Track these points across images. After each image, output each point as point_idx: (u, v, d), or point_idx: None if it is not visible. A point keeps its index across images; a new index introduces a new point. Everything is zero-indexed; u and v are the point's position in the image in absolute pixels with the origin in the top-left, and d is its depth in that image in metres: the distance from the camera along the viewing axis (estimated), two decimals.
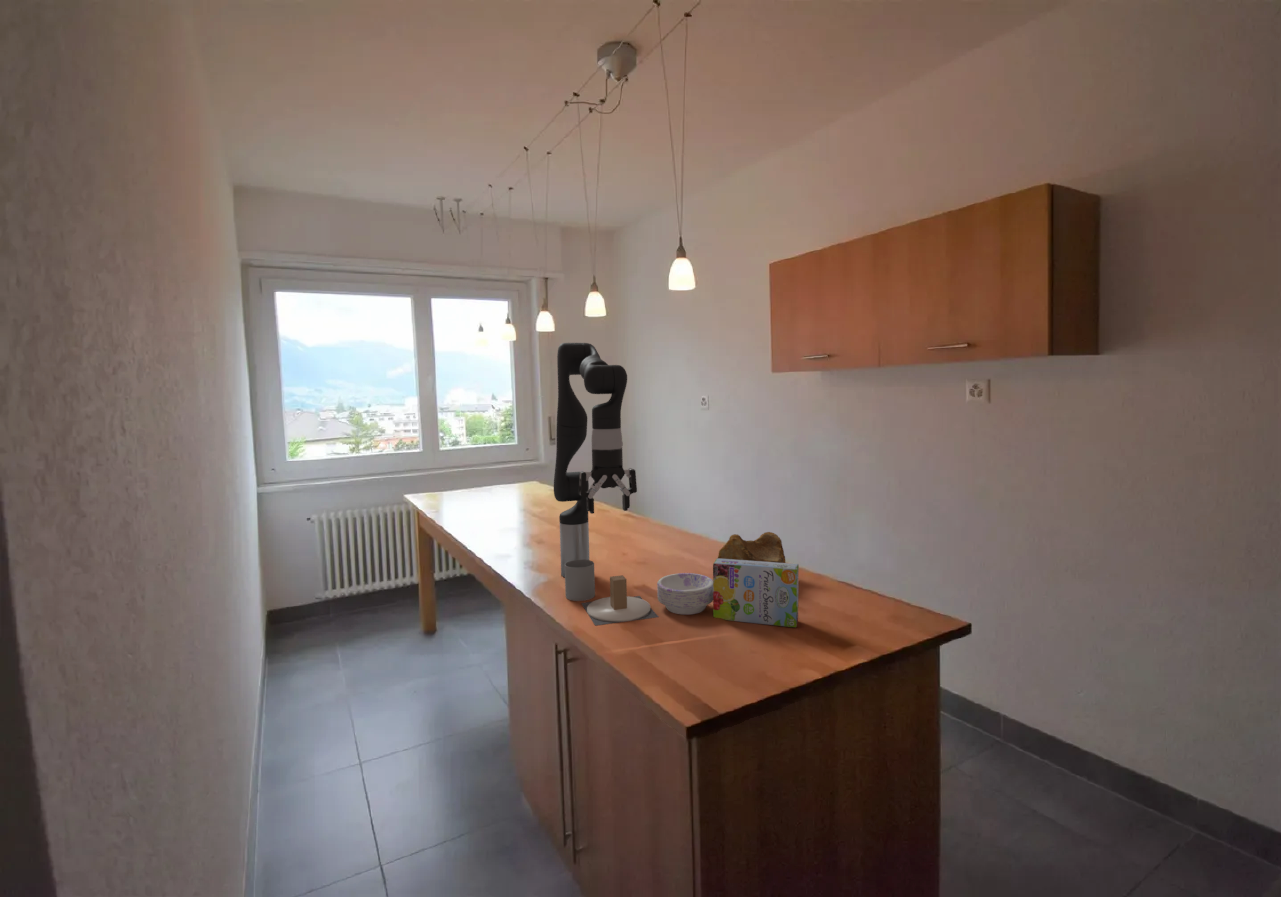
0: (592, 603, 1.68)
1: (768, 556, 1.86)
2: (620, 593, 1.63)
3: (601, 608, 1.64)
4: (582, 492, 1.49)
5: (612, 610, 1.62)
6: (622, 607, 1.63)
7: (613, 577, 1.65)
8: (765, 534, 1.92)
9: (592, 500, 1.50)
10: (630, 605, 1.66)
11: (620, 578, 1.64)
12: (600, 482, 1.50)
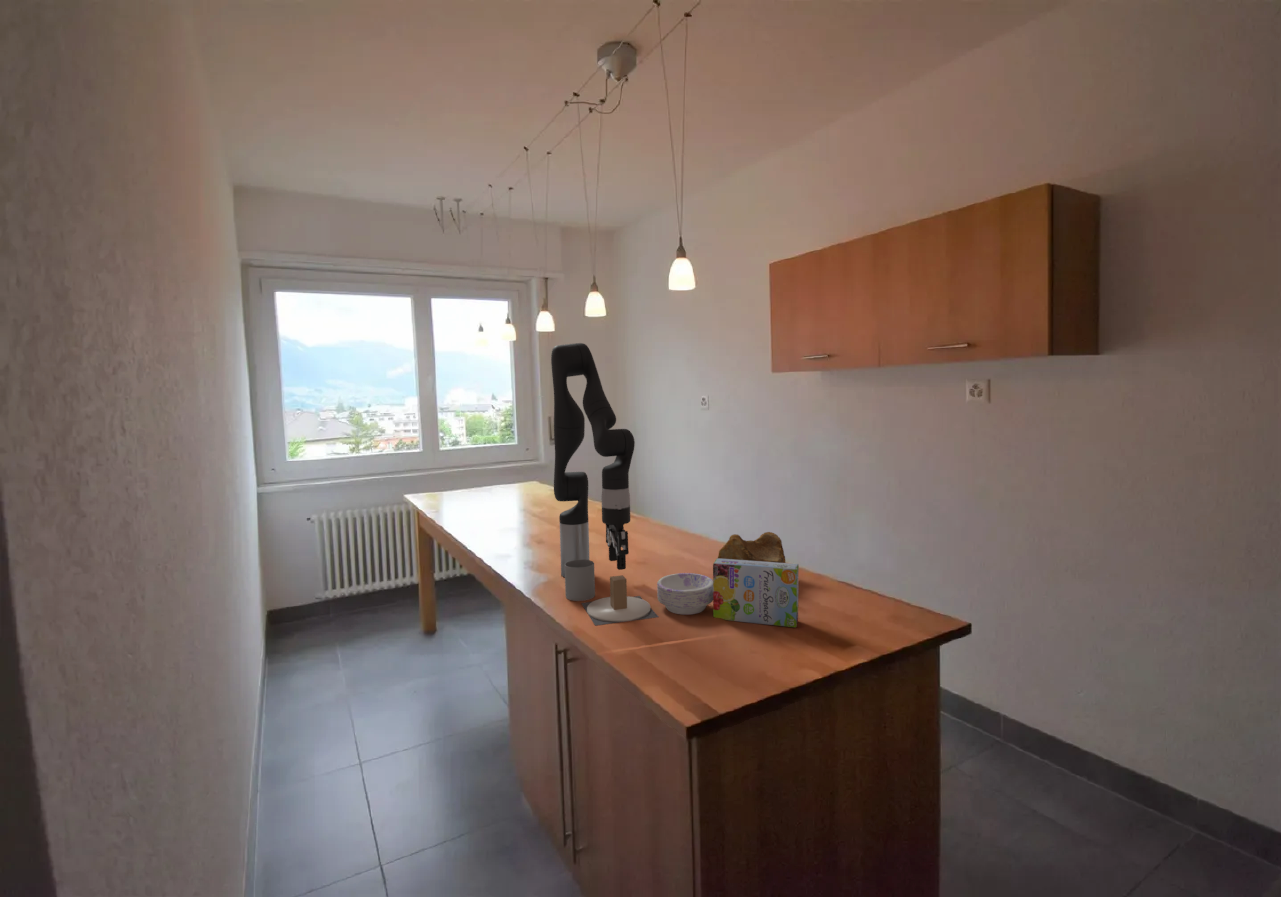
0: (592, 603, 1.68)
1: (768, 556, 1.86)
2: (620, 593, 1.63)
3: (601, 608, 1.64)
4: None
5: (612, 610, 1.62)
6: (622, 607, 1.63)
7: (613, 577, 1.65)
8: (765, 534, 1.92)
9: None
10: (630, 605, 1.66)
11: (621, 578, 1.64)
12: None
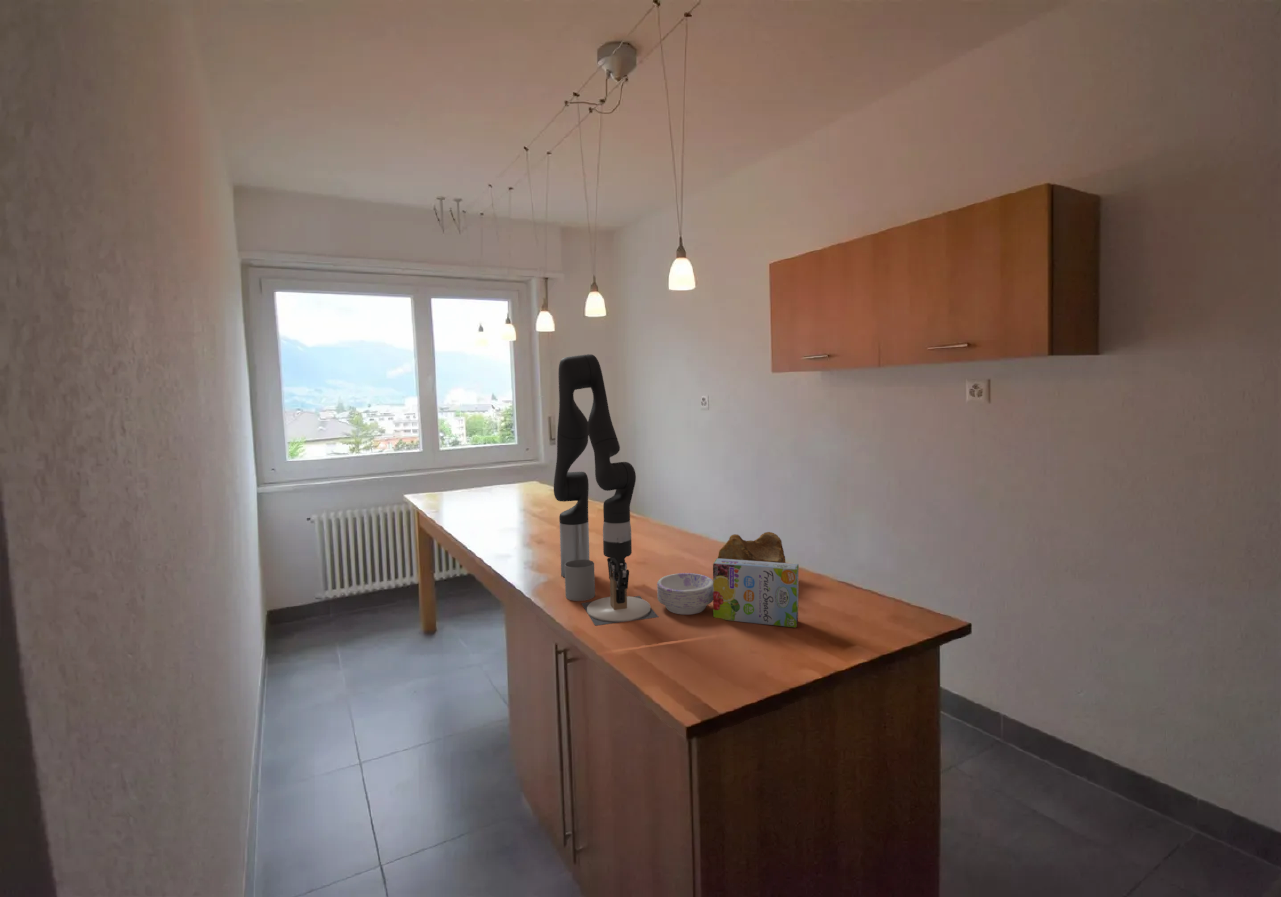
0: (592, 603, 1.68)
1: (768, 556, 1.86)
2: None
3: (601, 608, 1.64)
4: None
5: (612, 610, 1.62)
6: (622, 607, 1.63)
7: None
8: (765, 534, 1.92)
9: None
10: (630, 605, 1.66)
11: None
12: None
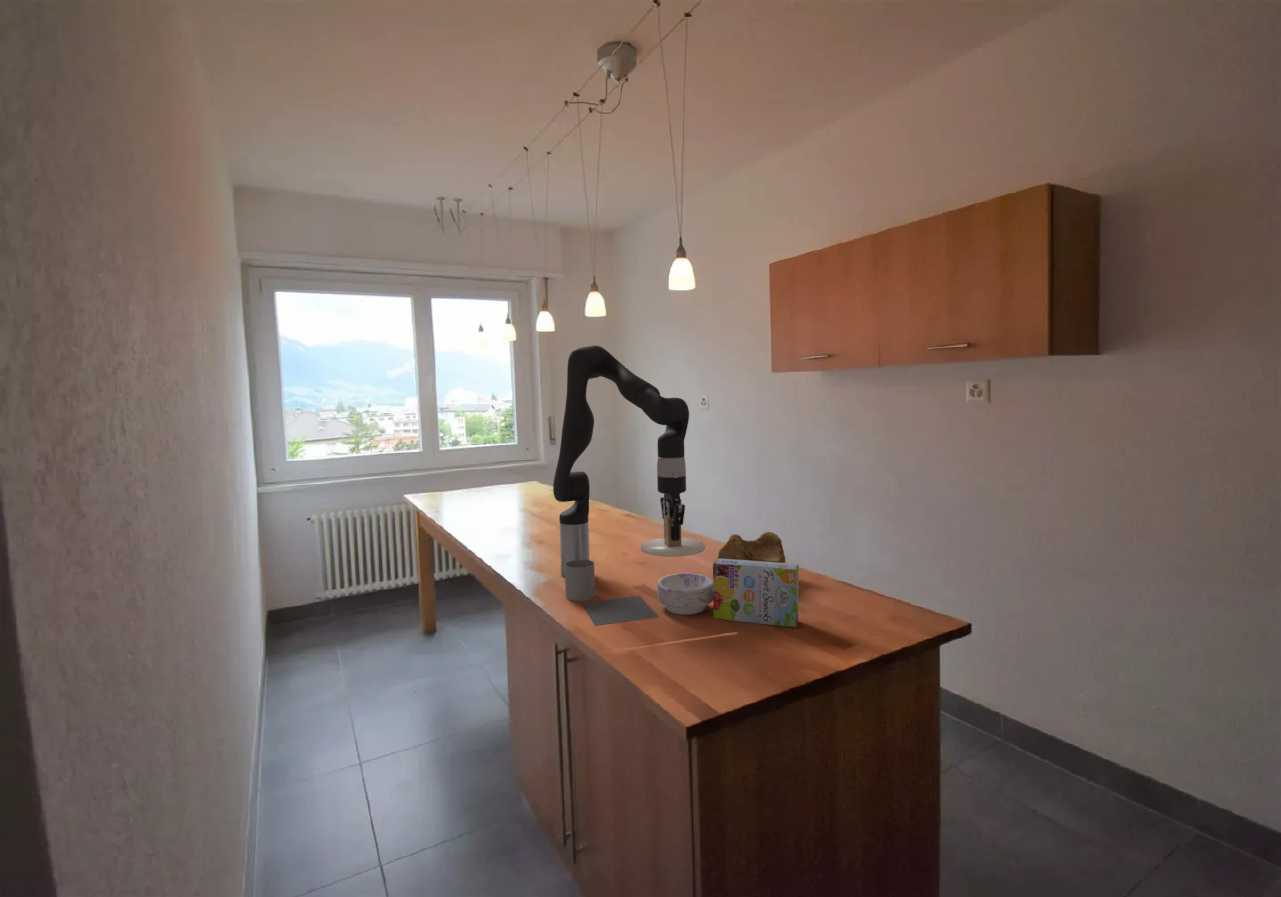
0: (645, 543, 1.66)
1: (768, 556, 1.86)
2: None
3: (655, 546, 1.62)
4: None
5: (667, 547, 1.60)
6: (676, 545, 1.61)
7: (667, 515, 1.63)
8: (765, 534, 1.92)
9: None
10: (684, 544, 1.64)
11: None
12: None
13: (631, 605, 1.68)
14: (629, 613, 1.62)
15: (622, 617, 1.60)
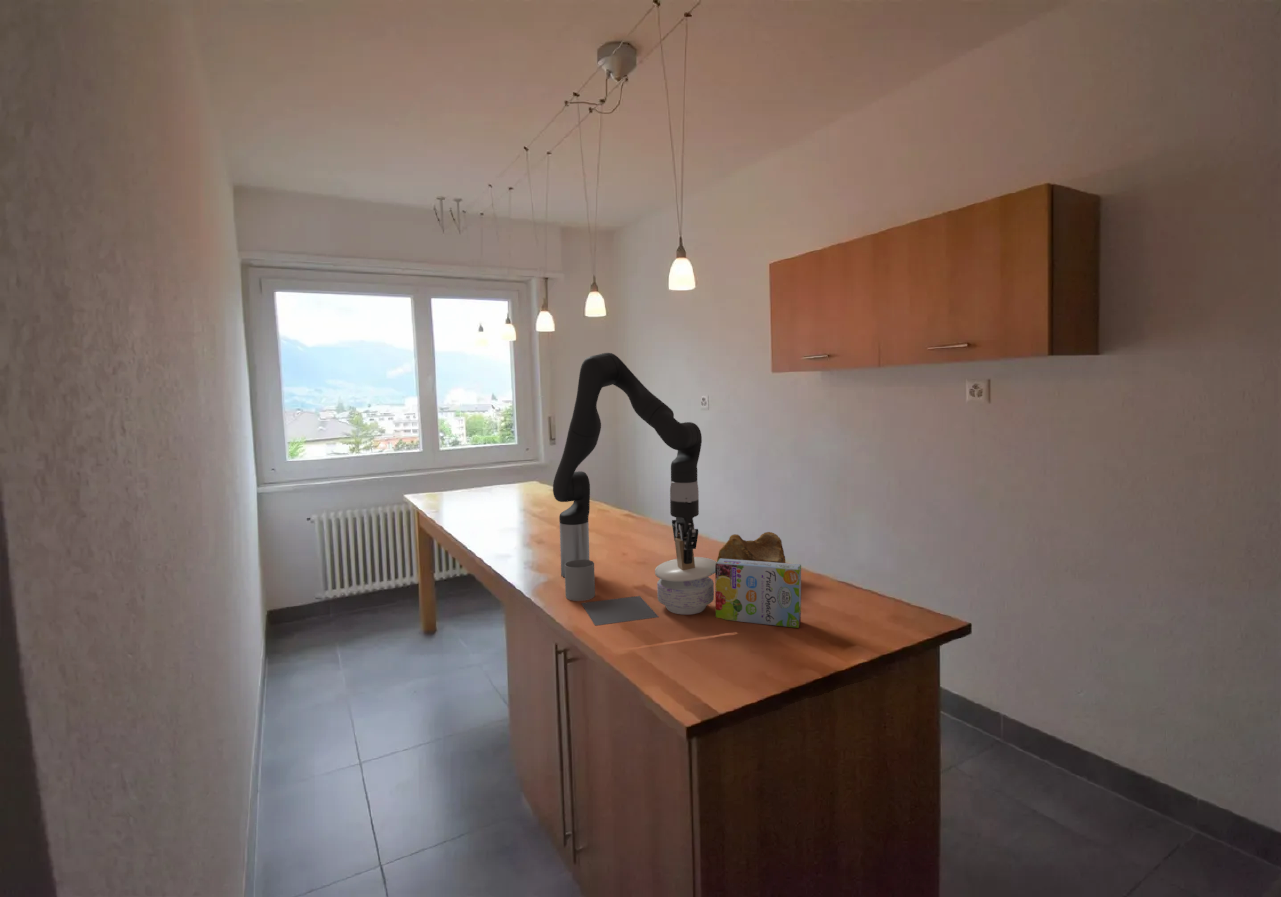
0: (659, 566, 1.68)
1: (768, 556, 1.86)
2: None
3: (669, 570, 1.64)
4: None
5: (681, 571, 1.62)
6: (690, 567, 1.63)
7: (678, 538, 1.64)
8: (765, 534, 1.92)
9: None
10: (697, 564, 1.66)
11: None
12: None
13: (631, 605, 1.68)
14: (629, 613, 1.62)
15: (622, 617, 1.60)
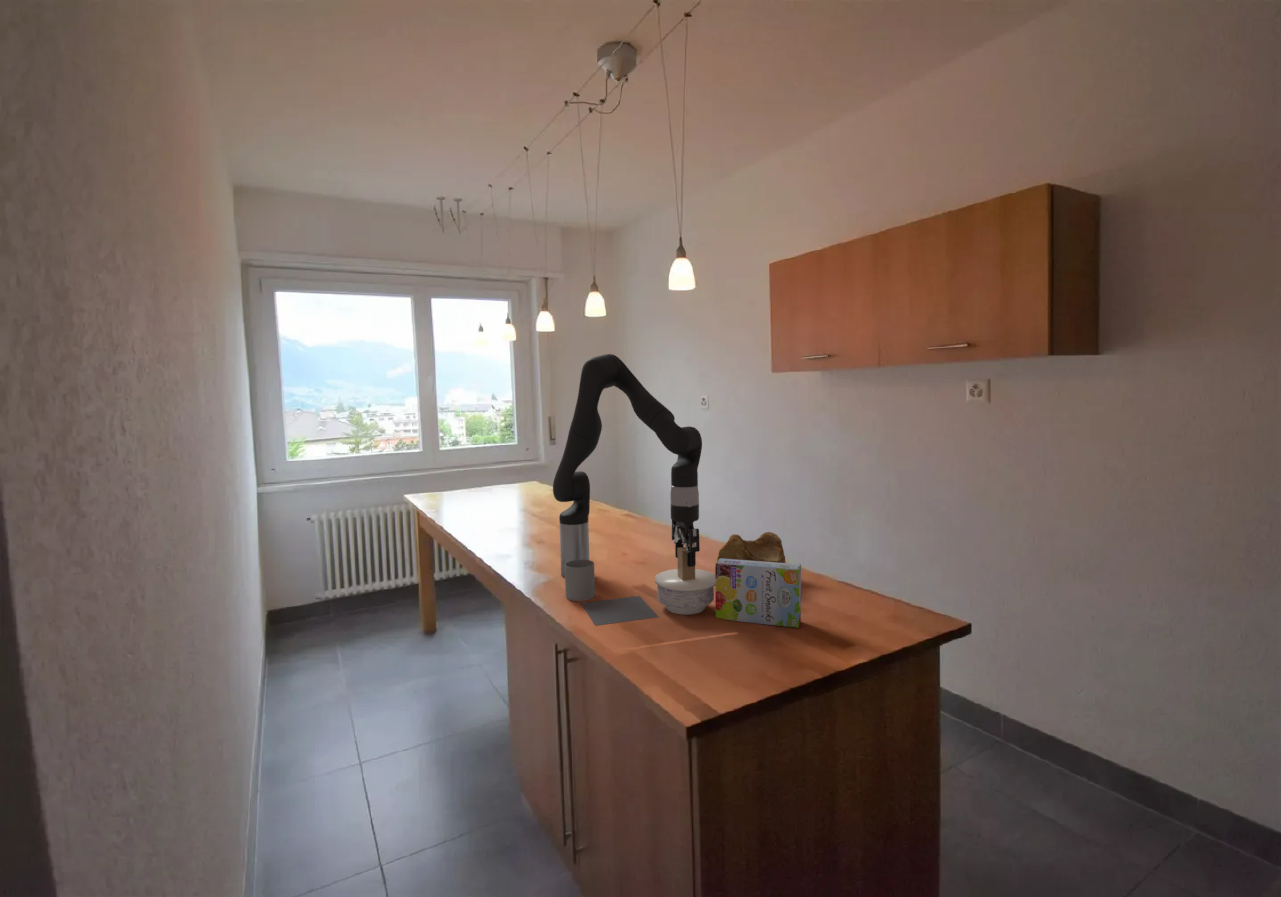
0: (658, 575, 1.68)
1: (768, 556, 1.86)
2: None
3: (669, 579, 1.64)
4: None
5: (681, 581, 1.63)
6: (690, 578, 1.64)
7: (681, 548, 1.65)
8: (765, 534, 1.92)
9: None
10: (697, 576, 1.66)
11: None
12: None
13: (631, 605, 1.68)
14: (629, 613, 1.62)
15: (622, 617, 1.60)
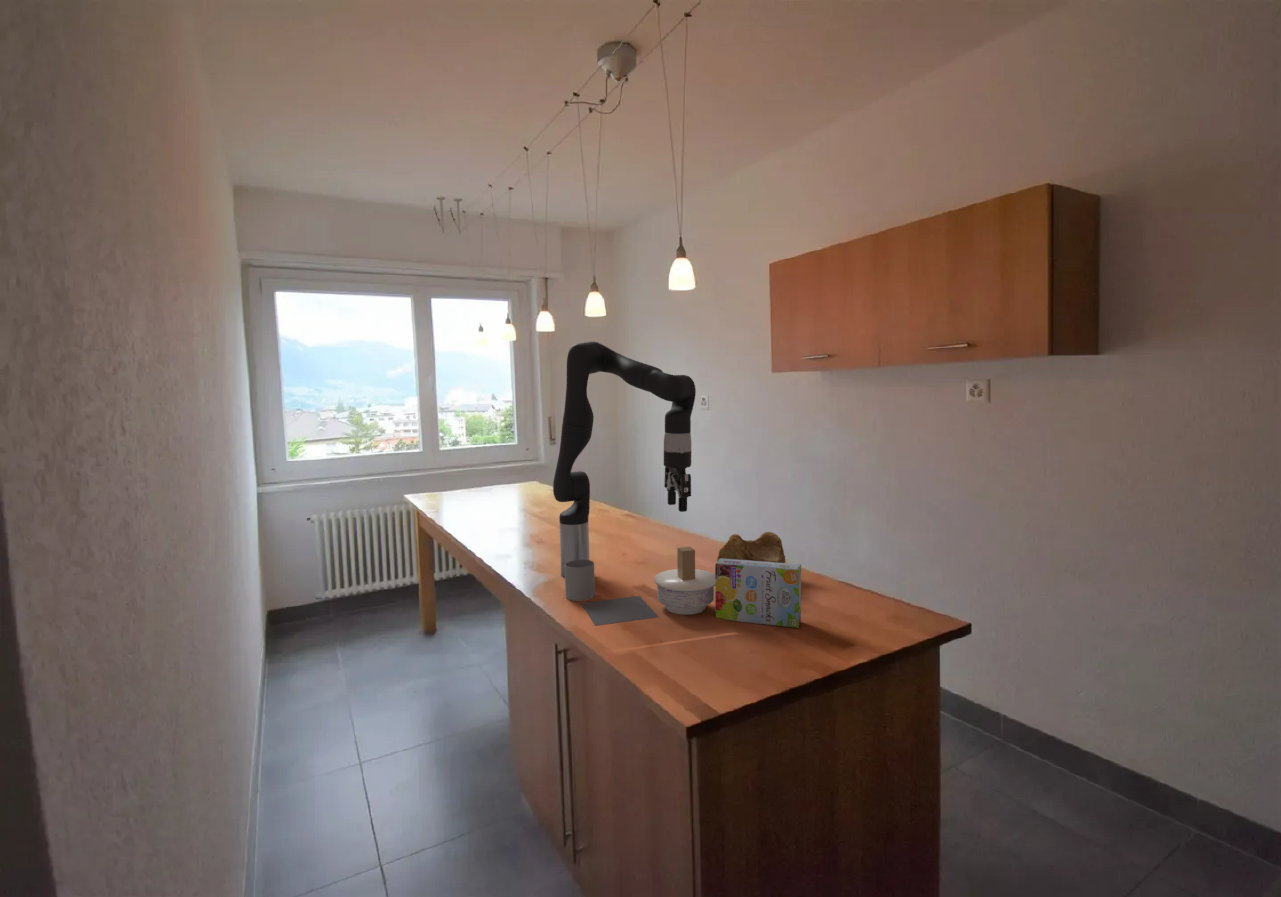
0: (658, 575, 1.68)
1: (768, 556, 1.86)
2: (689, 564, 1.63)
3: (669, 579, 1.64)
4: None
5: (681, 581, 1.63)
6: (690, 578, 1.64)
7: (681, 548, 1.65)
8: (765, 534, 1.92)
9: None
10: (697, 576, 1.66)
11: (689, 548, 1.64)
12: None
13: (631, 605, 1.68)
14: (629, 613, 1.62)
15: (622, 617, 1.60)
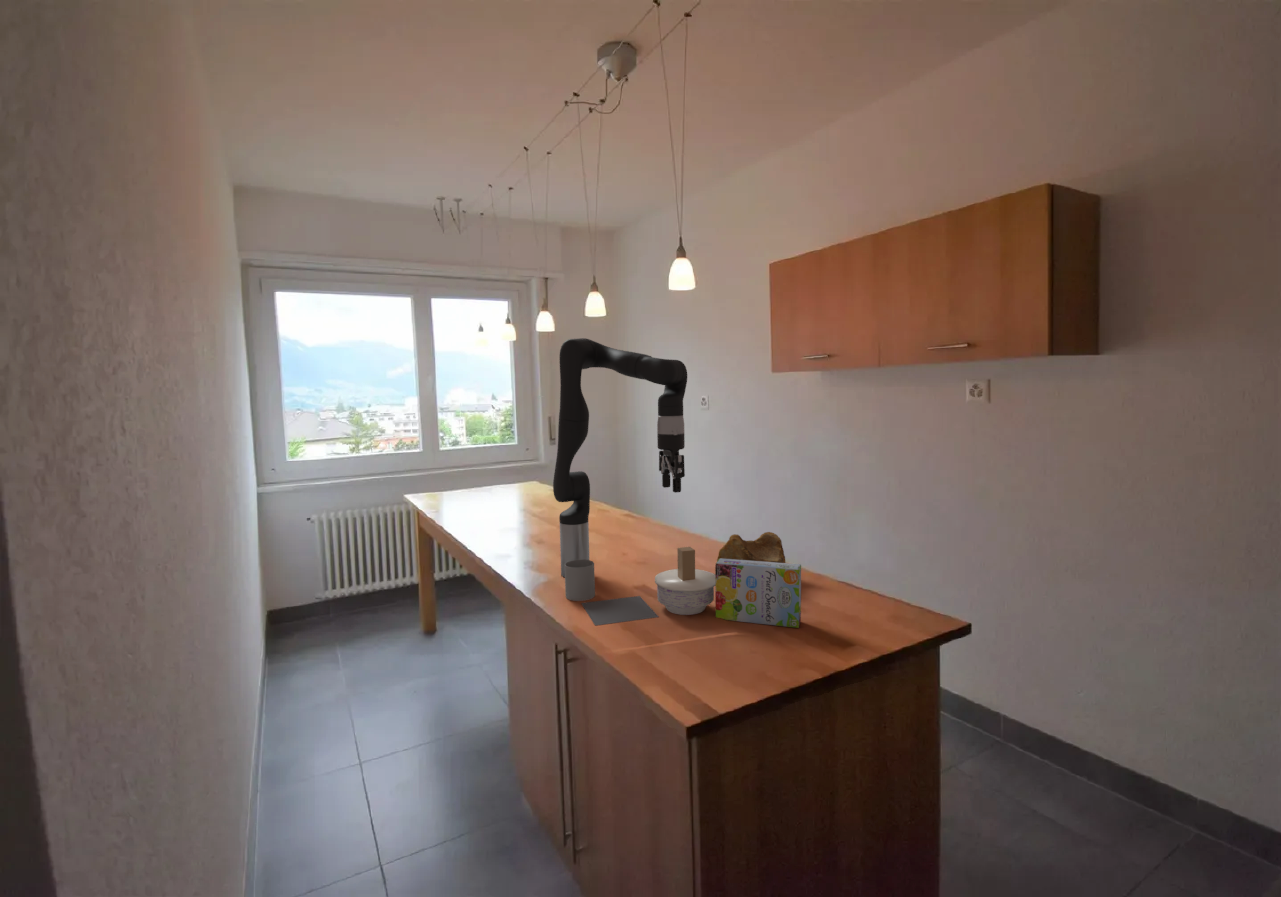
0: (658, 575, 1.68)
1: (768, 556, 1.86)
2: (689, 564, 1.63)
3: (669, 579, 1.64)
4: None
5: (681, 581, 1.63)
6: (690, 578, 1.64)
7: (681, 548, 1.65)
8: (765, 534, 1.92)
9: None
10: (697, 576, 1.66)
11: (689, 549, 1.64)
12: None
13: (631, 605, 1.68)
14: (629, 613, 1.62)
15: (622, 617, 1.60)
